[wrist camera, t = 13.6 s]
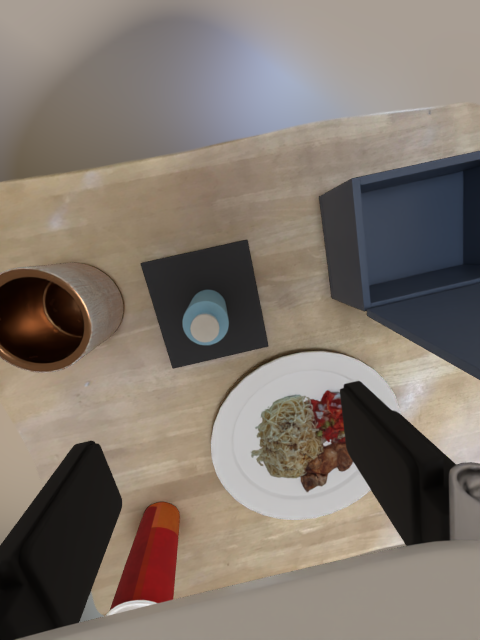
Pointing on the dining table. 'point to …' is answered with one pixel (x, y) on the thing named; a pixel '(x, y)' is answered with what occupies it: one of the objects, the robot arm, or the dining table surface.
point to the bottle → (206, 318)
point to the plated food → (292, 436)
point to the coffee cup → (150, 561)
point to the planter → (55, 314)
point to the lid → (439, 324)
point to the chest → (404, 232)
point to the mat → (197, 275)
